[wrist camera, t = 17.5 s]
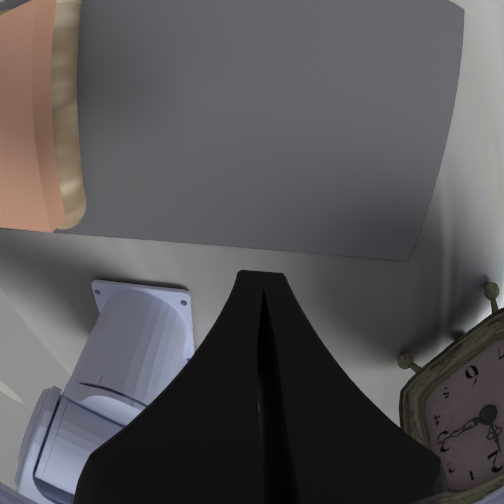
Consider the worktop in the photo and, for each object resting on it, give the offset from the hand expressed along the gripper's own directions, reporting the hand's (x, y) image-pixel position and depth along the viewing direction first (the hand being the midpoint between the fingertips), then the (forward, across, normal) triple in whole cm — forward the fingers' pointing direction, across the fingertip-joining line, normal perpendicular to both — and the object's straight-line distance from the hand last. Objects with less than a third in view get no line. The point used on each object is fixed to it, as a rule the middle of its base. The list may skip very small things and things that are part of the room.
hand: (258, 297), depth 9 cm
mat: (+9, +9, -5) cm, 14 cm away
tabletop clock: (+10, -21, +12) cm, 26 cm away
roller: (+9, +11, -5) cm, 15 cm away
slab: (+6, +18, -5) cm, 20 cm away
